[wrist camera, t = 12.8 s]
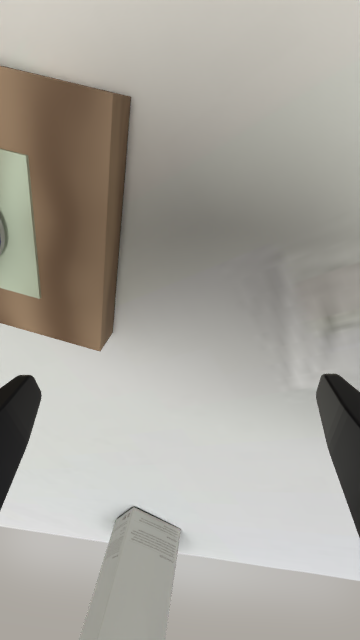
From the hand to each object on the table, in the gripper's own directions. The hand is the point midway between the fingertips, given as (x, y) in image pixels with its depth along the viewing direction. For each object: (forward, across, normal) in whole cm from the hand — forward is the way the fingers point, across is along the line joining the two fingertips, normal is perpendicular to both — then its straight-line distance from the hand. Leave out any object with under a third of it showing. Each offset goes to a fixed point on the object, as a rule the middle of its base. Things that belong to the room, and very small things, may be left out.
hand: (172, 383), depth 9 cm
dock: (+14, +13, -2) cm, 19 cm away
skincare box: (+12, +8, +42) cm, 45 cm away
